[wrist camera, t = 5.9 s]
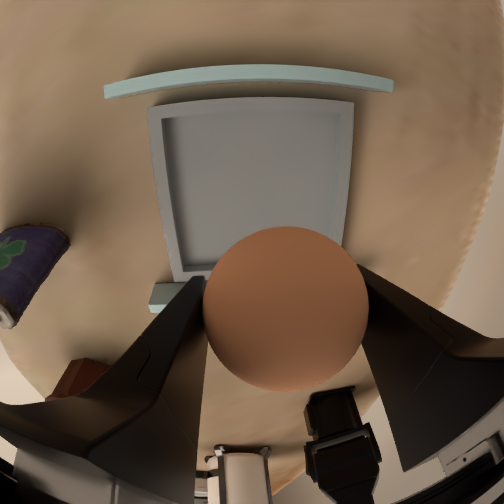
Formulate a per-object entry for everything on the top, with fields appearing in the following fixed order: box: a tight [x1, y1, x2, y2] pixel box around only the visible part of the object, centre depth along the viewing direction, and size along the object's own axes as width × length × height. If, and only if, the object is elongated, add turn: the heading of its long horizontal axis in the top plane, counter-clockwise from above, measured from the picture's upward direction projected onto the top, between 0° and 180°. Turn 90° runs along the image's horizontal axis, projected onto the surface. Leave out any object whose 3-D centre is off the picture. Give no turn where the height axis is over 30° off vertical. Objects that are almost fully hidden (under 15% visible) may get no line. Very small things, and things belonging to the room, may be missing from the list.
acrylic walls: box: [104, 64, 394, 313], centre depth 16 cm, size 16×16×2 cm
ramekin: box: [194, 478, 208, 496], centre depth 53 cm, size 13×13×7 cm
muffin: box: [45, 358, 110, 401], centre depth 24 cm, size 12×11×10 cm
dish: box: [147, 97, 354, 282], centre depth 17 cm, size 12×12×1 cm
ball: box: [202, 226, 369, 392], centre depth 8 cm, size 5×5×5 cm
